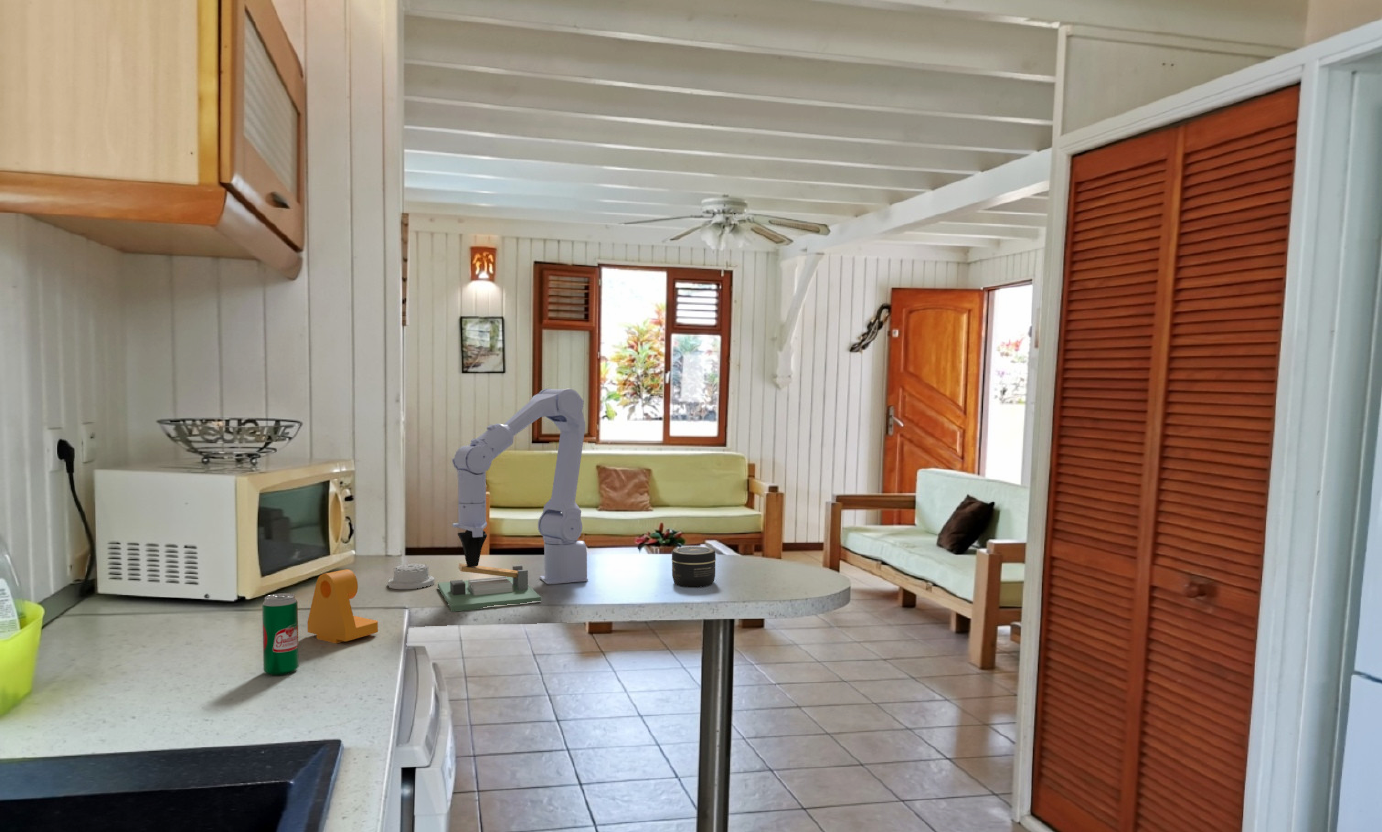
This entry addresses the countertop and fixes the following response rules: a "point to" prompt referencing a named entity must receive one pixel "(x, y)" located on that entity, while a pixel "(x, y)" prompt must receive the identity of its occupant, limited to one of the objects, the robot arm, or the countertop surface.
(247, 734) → the countertop surface
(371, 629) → the bracket
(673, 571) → the jar
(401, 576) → the mechanical component
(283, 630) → the soda can
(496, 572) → the orange brown flat bar
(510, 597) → the board
